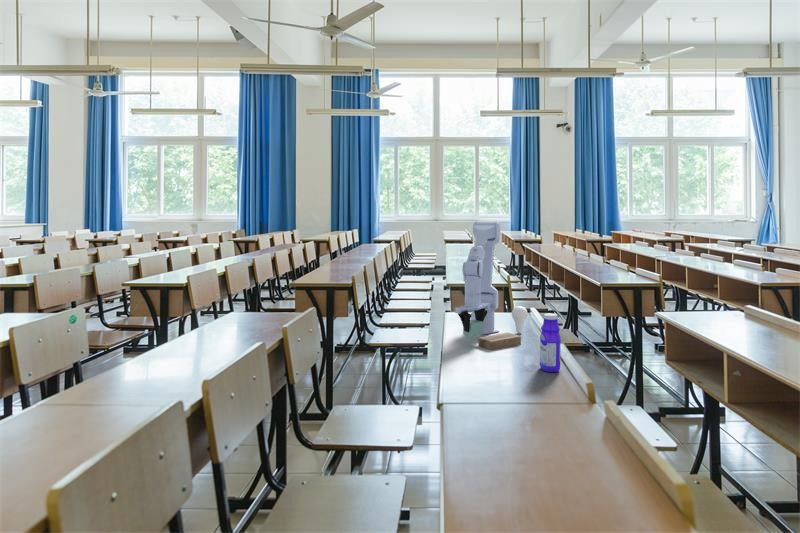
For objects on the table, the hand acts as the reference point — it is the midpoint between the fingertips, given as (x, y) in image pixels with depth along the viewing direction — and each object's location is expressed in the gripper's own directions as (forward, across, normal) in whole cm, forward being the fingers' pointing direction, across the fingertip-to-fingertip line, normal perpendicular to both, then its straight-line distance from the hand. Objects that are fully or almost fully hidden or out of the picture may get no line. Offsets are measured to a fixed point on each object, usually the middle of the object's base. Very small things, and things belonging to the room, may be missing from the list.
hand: (472, 330), depth 203 cm
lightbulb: (+5, +25, +2) cm, 26 cm away
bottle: (+5, 0, -38) cm, 38 cm away
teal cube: (+2, 0, 0) cm, 2 cm away
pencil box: (+5, +7, -7) cm, 11 cm away
